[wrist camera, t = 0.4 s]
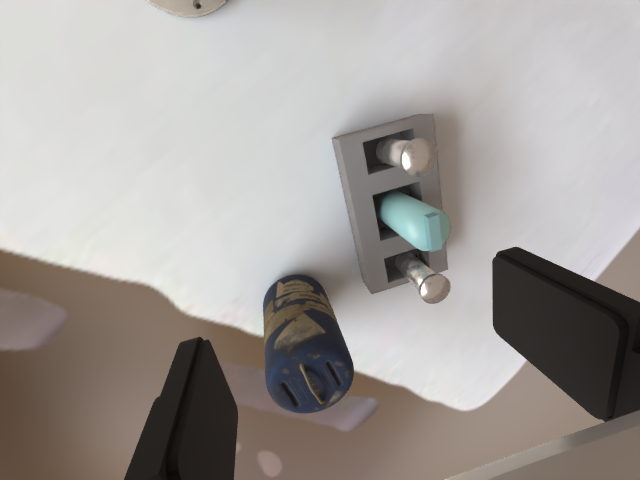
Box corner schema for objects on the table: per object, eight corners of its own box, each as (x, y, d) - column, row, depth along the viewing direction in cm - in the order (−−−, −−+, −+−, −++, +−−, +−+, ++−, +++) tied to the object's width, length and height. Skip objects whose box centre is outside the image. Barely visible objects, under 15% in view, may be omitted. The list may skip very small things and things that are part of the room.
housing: (331, 138, 41) (339, 139, 37) (417, 114, 42) (432, 113, 38) (363, 281, 49) (371, 294, 45) (433, 258, 50) (448, 269, 47)
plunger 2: (390, 253, 45) (419, 281, 37) (415, 245, 45) (449, 271, 37) (394, 276, 46) (423, 307, 38) (418, 268, 47) (451, 298, 39)
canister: (320, 264, 47) (355, 342, 30) (329, 317, 50) (365, 412, 34) (256, 279, 46) (256, 367, 29) (269, 331, 49) (276, 438, 33)
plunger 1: (370, 139, 39) (400, 143, 31) (399, 131, 39) (435, 133, 31) (375, 169, 40) (405, 181, 32) (403, 161, 41) (439, 171, 33)
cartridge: (369, 193, 44) (411, 219, 32) (401, 184, 45) (454, 206, 33) (375, 224, 46) (417, 259, 34) (405, 215, 47) (457, 247, 35)
